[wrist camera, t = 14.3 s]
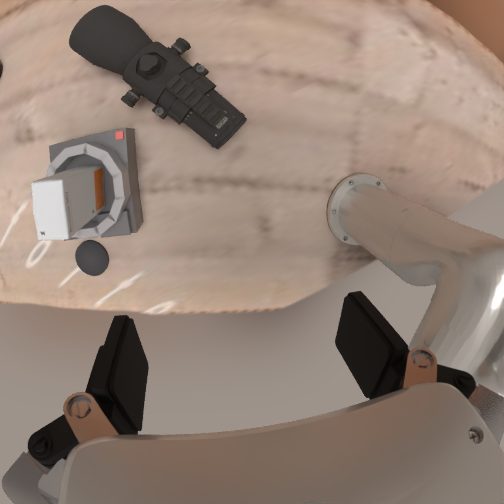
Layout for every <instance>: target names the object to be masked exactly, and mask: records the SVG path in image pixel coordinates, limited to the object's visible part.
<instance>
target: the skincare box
mask: <svg viewBox="0 0 504 504" xmlns="http://www.w3.org/2000/svg"><path fill="white" fill-rule="evenodd" d="M31 188H32V199H33V214H34V218H35V224H36V230H37V235H38V240H39V241H41V240H66V239H70V238H71V237H72V236H73V235H74V234H75V233H76V232H77V231H79V230H80V229H81V228H82V227H83V226H84V225H85V224H87V223H88V222H89V221H90V220H91V219H92V218H94V217H95V216H96V215H97V214H98V213H100V212H101V211H102V210H103V209H104V208H105V196H104V165H92V166H79V167H75V168H72V169H69V170H66V171H63V172H60V173H57V174H54V175H51V176H48V177H45V178H43V179H40V180H37V181H34V182H32V183H31Z"/></svg>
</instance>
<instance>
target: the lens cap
mask: <svg viewBox="0 0 504 504" xmlns="http://www.w3.org/2000/svg"><path fill="white" fill-rule="evenodd" d="M75 257H76V262H77V264H78V266H79V268H80V269H81V270H82V271H83V272H85V273H86V274H88V275H92V276H97V275H100V274H102V273H103V272H104V271H105V269H106V268H107V266H108V263H109V257H108V253H107V251H106V249H105V248H104V247H103V246H102V245H101V244H100V243H99V242H97V241H93V240H87V241H84V242H83V243H82V244H81V245H80V246H79V247H78V248H77V250H76V255H75Z"/></svg>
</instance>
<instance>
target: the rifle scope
mask: <svg viewBox="0 0 504 504" xmlns="http://www.w3.org/2000/svg"><path fill="white" fill-rule="evenodd" d="M69 45H70V47H71V48H72V49H73V50H74V51H75V52H76V53H78V54H79V55H81V56H82V57H84V58H85V59H86V60H88V61H89V62H91V63H92V64H93V65H96V66H99V67H102V68H105V69H108V70H110V71H113V72H116V73H118V74H121V75H123V80H124V81H125V82H126V83H128V84H129V85H130V87H132V90H129V91H128V92H127V93H126V95H125V96H123V97H122V98H121V100H122V101H123V102H124V103H126V104H127V105H128V106H130V107H133V106H134V105H135V103H136V102H137V101H138V100H139V99H140V96H141V95H142V96H145V97H146V98H147V99H149V100H150V101H151V102H153V103H154V104H155V105H156V106H155V107H154V108H153V109H152V111H153V112H154V113H156V115H158V116H159V117H161V118H162V119H164V118H165V117H166V116H167V115H169V116H170V117H171V118H173V119H174V120H175V121H176V122H177V123H179V124H180V123H183V122H184V123H186V124H187V125H188V126H189V127H190V128H192V129H193V130H194V131H195V132H196V133H198V134H199V135H200V136H201V137H202V138H204V139H205V140H206V141H207V142H208V143H209V144H211V146H212V147H213V148H214V147H215V148H216V149H219V148H220V147H221V146H223V145H224V144H225V143H226V142H227V141H228V140H229V139H230V138H231V137H232V136H233V135H234V134H235V133H236V132H237V131H238V129H239V128H240V127H241V126H242V125H243V124H244V123H245V121H246V120H247V118H246V117H244V116H245V115H244V114H243V113H241V112H240V111H238V110H237V109H236V108H235V107H234V106H233V105H232V104H230V103H229V102H228V101H227V100H226V99H225V98H224V97H222V96H221V95H220V94H219V93H218V92H216V91H215V90H214V88H215V87H216V85H215V84H214V83H212V82H211V81H210V80H209V79H208V78H206V77H205V75H206V74H207V73H208V70H207V69H206V68H204V66H202V65H200V64H199V63H197V64H195V65H194V66H193V67H192V66H191V65H190V64H188V63H187V62H186V61H184V60H183V59H182V58H181V57H180V55H182V54H183V53H184V52H185V51H186V50H189V49H190V48H191V46H190V44H189V43H188V42H187V41H186V40H184V39H182V38H178V39H177V40H176V42H175V43H174V44H173V45H172V46H171V47H172V48H169V47H168V48H167V47H165V46H164V45H162V44H161V43H159V42H152V41H151V39H150V38H149V37H148V36H147V35H146V33H145V32H144V31H143V30H142V29H141V28H140V26H139V25H138V24H137V23H136V22H135V21H134V20H133V19H132V18H130V17H128V16H127V15H125V14H123V13H122V12H120V11H118V10H117V9H115V8H113V7H111V6H108V5H102V6H98V7H96V8H94V9H92V10H91V11H89V12H88V13H87V14H85V15H84V16H83V17H82V18H81V19H80V20H79V22H78V23H77V24H76V26H75V27H74V29H73V31H72V33H71V35H70V39H69Z"/></svg>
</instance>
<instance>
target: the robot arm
mask: <svg viewBox="0 0 504 504" xmlns="http://www.w3.org/2000/svg"><path fill="white" fill-rule="evenodd" d="M349 181H350V182H349ZM332 210H333V211H332ZM327 219H328V223H329V226H330V229H331V231H332V232H333V234H334V235H335V236H336V237H337V238H338V239H339V240H341V241H342V242H343V243H346V244H348V245H354V246H356V245H361V246H363V247H364V248H365V249H366V250H368V251H369V252H370V253H371V254H372V255H374V256H375V257H376V258H377V259H378V260H380V261H381V262H382V263H383V264H384V265H386V266H387V267H388V268H389V269H390V270H392V271H393V272H394V273H395V274H396V275H398V276H399V277H400V278H401V279H402V280H404V281H405V282H407V283H409V284H411V285H414V286H429V285H434V284H436V289H435V292H434V294H433V296H432V299H431V303H430V305H429V307H428V309H427V311H426V313H425V315H424V317H423V319H422V321H421V323H420V325H419V327H418V329H417V330H416V332H415V334H414V336H413V338H412V340H411V342H410V344H409V347H408V345H407V344H406V343H405V341H404V340H403V339H402V338H401V337H400V335H399V334H398V333H397V332H396V331H395V330H394V328H393V327H392V326H391V325H390V324H389V322H388V321H387V320H386V319H385V318H384V317H383V315H382V314H381V313H380V312H379V311H378V310H377V309H376V307H375V306H374V305H373V304H372V303H371V302H370V301H369V299H368V298H367V297H366V296H365V295H364V294H363V293H362V292H361V291H357V292H351V293H348V295H347V296H346V297H345V298H344V303H343V308H342V312H341V317H340V322H339V326H338V331H337V335H336V339H335V343H336V347H337V349H338V350H339V352H340V354H341V355H342V357H343V359H344V361H345V362H346V364H347V366H348V367H349V369H350V371H351V373H352V374H353V376H354V378H355V380H356V381H357V383H358V385H359V386H360V389H361V390H362V392H363V394H364V396H365V397H366V398H369V399H370V400H368V401H366V402H362V403H359V404H356V405H353V406H350V407H347V408H343V409H340V410H336V411H333V412H329V413H325V414H321V415H317V416H313V417H309V418H305V419H301V420H296V421H292V422H287V423H281V424H275V425H270V426H264V427H257V428H250V429H243V430H235V431H225V432H215V433H201V434H176V435H138V431H141V430H142V421H143V410H144V401H145V392H146V384H147V376H148V361H147V359H146V356H145V353H144V350H143V347H142V345H141V342H140V339H139V336H138V333H137V330H136V327H135V324H134V321H133V319H131V318H129V317H128V316H127V315H122V316H121V315H120V316H114V319H113V321H112V324H111V327H110V329H109V332H108V335H107V338H106V341H105V344H104V345H103V346H100V348H99V350H98V353H97V356H96V359H95V362H94V365H93V368H92V371H91V375H90V378H89V381H88V385H87V388H86V391H85V392H78V393H75V394H72V395H71V396H69V397H68V398H67V400H66V401H65V403H64V407H63V411H64V415H62V416H61V417H59V418H57V419H56V420H54V421H53V422H51V423H49V424H48V425H46V426H45V427H43V428H41V429H40V430H38V431H37V432H35V433H34V434H32V435H31V437H30V439H29V441H28V450H29V451H28V452H27V453H25V452H23V453H22V454H21V455H20V457H19V458H18V459H17V460H16V461H15V463H14V464H13V465H12V466H11V467H10V469H9V470H8V471H7V472H6V474H5V475H4V476H3V479H2V487H3V490H4V492H5V493H6V495H7V496H8V497H9V498H10V500H11V501H12V502H13V503H14V504H504V453H503V451H502V449H501V447H500V445H499V444H500V441H501V438H502V435H503V432H504V239H501V238H499V237H497V236H494V235H492V234H489V233H486V232H483V231H480V230H476V229H473V228H470V227H468V226H465V225H462V224H460V223H458V222H455V221H453V220H451V219H448V218H446V217H444V216H442V215H440V214H438V213H436V212H434V211H431V210H429V209H427V208H425V207H423V206H421V205H418V204H416V203H414V202H412V201H410V200H407V199H405V198H403V197H400V196H398V195H396V194H393V193H391V192H388V189H387V188H386V186H385V184H384V183H383V182H382V181H381V180H380V179H378V178H377V177H375V176H373V175H370V174H366V173H358V174H353V175H351V176H349V177H347V178H345V179H344V180H342V181H341V182H340V183H339V184H338V185H337V187H336V188H335V190H334V191H333V193H332V195H331V197H330V200H329V203H328V209H327Z"/></svg>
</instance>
